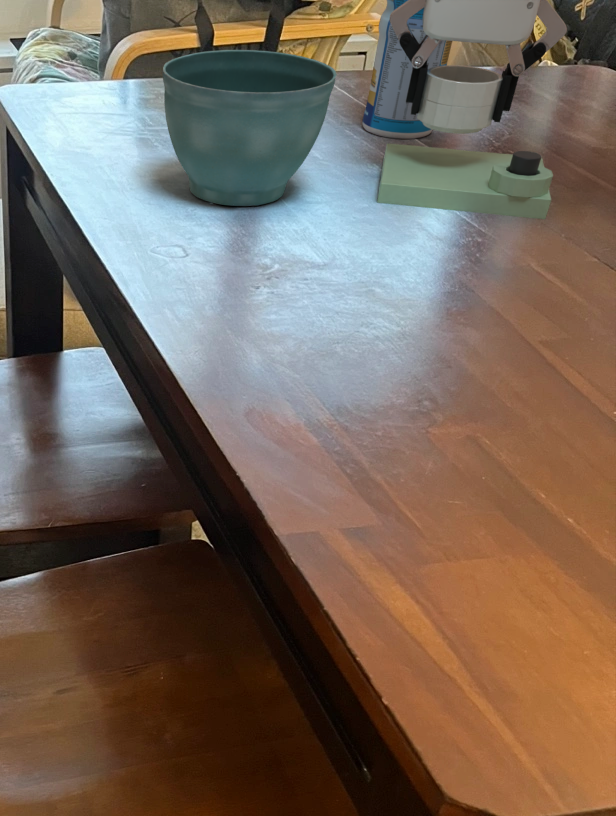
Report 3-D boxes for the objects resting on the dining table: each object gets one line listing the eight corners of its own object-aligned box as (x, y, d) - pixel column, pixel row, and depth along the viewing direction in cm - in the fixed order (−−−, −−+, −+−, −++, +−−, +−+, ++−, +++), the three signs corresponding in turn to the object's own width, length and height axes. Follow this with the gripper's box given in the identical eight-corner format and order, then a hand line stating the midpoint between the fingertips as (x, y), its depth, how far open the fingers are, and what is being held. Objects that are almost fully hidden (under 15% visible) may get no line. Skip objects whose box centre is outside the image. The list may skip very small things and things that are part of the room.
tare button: (534, 171, 102) (540, 152, 101) (536, 180, 100) (542, 160, 99) (507, 169, 102) (512, 149, 101) (508, 177, 101) (513, 157, 99)
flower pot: (174, 223, 99) (185, 93, 91) (140, 170, 110) (147, 50, 103) (338, 217, 101) (361, 89, 93) (288, 165, 112) (305, 47, 105)
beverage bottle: (388, 144, 119) (433, -77, 105) (345, 124, 124) (382, -88, 110) (448, 136, 121) (500, -80, 107) (403, 117, 127) (447, -91, 113)
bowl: (488, 119, 107) (501, 68, 104) (490, 138, 102) (504, 86, 99) (416, 112, 109) (427, 62, 105) (415, 131, 104) (426, 79, 100)
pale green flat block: (536, 176, 111) (547, 140, 109) (545, 221, 101) (557, 182, 98) (382, 162, 114) (390, 126, 111) (376, 204, 104) (384, 166, 101)
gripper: (607, -109, 94) (542, 113, 106) (409, -120, 97) (368, 98, 109) (617, -99, 88) (547, 133, 101) (407, -110, 91) (364, 117, 104)
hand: (455, 113), depth 105 cm, fingers closed on bowl, 7 cm apart
